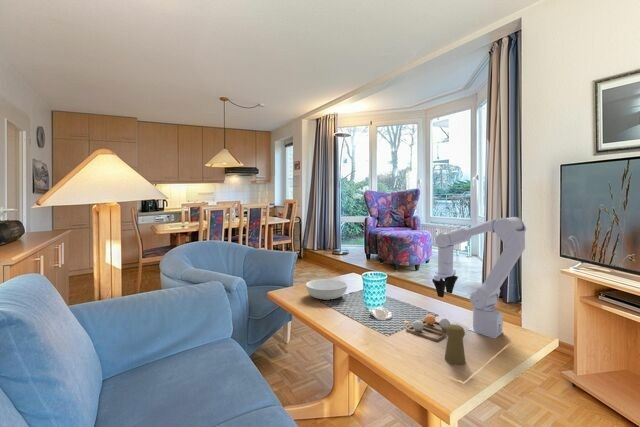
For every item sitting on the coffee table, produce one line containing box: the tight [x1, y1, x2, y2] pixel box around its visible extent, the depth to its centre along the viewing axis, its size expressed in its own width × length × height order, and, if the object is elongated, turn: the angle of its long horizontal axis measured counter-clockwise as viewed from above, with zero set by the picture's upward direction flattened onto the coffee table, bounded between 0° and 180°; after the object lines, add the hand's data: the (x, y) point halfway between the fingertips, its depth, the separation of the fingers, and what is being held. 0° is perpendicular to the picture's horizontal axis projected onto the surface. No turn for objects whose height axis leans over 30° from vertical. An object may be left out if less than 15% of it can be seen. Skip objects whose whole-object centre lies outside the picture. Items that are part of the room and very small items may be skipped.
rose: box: [369, 306, 393, 321], centre depth 136 cm, size 10×4×10 cm
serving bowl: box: [305, 278, 348, 301], centre depth 162 cm, size 21×21×7 cm
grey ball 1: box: [412, 319, 424, 332], centre depth 120 cm, size 4×4×4 cm
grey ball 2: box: [438, 318, 452, 330], centre depth 121 cm, size 4×4×4 cm
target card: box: [402, 320, 413, 326], centre depth 127 cm, size 8×5×1 cm, turn 42°
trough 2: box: [420, 319, 447, 335], centre depth 123 cm, size 12×6×1 cm, turn 42°
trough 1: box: [405, 325, 447, 343], centre depth 117 cm, size 12×6×1 cm, turn 42°
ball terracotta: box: [424, 314, 437, 325], centre depth 125 cm, size 4×4×4 cm
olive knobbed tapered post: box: [444, 324, 466, 366], centre depth 98 cm, size 6×6×11 cm
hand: (445, 294), depth 133 cm, fingers open, 7 cm apart
